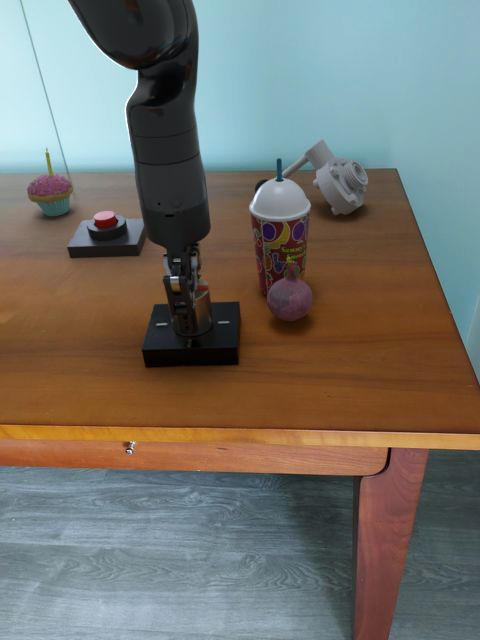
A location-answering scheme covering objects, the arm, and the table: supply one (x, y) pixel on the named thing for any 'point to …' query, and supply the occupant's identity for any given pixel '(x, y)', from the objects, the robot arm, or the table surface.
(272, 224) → the smoothie
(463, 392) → the table surface
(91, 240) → the box
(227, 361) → the dial panel
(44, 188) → the cupcake
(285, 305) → the vegetable
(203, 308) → the pointer knob
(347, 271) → the table surface
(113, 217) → the button
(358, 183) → the valve
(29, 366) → the table surface
